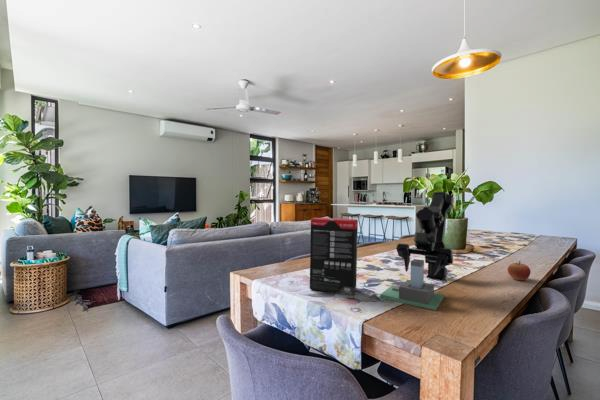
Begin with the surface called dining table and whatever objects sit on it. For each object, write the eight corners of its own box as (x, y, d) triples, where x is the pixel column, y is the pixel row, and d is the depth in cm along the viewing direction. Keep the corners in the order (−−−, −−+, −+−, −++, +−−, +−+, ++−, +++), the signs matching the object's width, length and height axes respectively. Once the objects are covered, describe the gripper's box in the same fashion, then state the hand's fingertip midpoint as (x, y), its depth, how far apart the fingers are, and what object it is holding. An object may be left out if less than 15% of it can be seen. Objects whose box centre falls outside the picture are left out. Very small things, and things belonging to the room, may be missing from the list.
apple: (520, 276, 128) (520, 258, 128) (535, 282, 120) (535, 263, 120) (502, 276, 128) (503, 258, 128) (516, 282, 120) (517, 263, 120)
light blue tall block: (410, 297, 98) (410, 261, 98) (413, 294, 101) (414, 259, 101) (420, 300, 96) (420, 262, 96) (423, 296, 99) (423, 260, 99)
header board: (380, 297, 101) (380, 283, 101) (392, 288, 112) (392, 274, 111) (435, 310, 91) (436, 293, 90) (443, 298, 101) (443, 283, 101)
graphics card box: (357, 290, 109) (358, 218, 108) (354, 296, 102) (355, 219, 102) (314, 285, 115) (314, 216, 114) (308, 290, 108) (309, 218, 107)
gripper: (398, 222, 110) (387, 256, 102) (452, 225, 100) (446, 264, 91) (403, 239, 117) (394, 273, 109) (455, 245, 106) (450, 282, 98)
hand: (419, 272), depth 101 cm, fingers open, 9 cm apart
